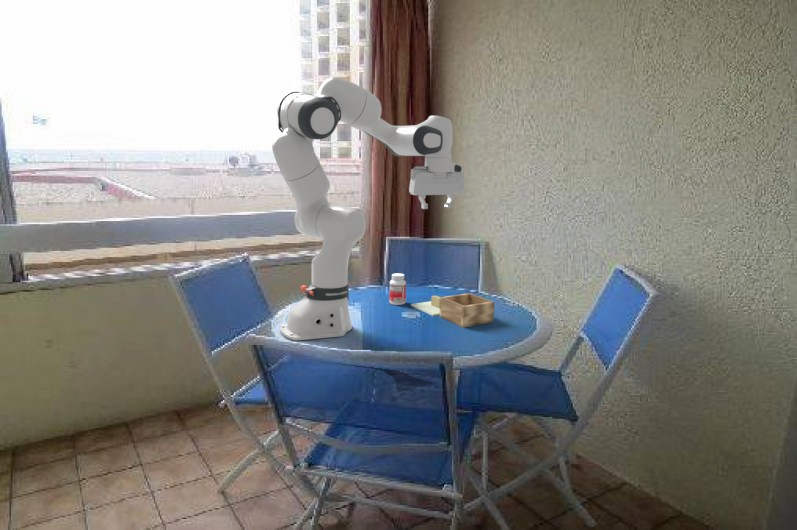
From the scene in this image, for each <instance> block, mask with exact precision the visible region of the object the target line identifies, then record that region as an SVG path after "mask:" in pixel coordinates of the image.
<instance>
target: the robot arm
mask: <svg viewBox="0 0 797 530" xmlns="http://www.w3.org/2000/svg"><path fill="white" fill-rule="evenodd" d="M276 111H277V117H278V121H277V122H278V123H277V125H278V126H277V127H278V129H279V131H280V132H281V133H280V134H279V135H278V136H276V138H274V140H273V141H272V146H271V147H272V149H271V150H272V153H273V157H274V159H275V162H276V165H277V167H278V169H279V171H280V173H281V176H282V177H283V179H284V181H285V182H286V185H287V187H288V188H289V190H290V192H291V194H292V196H293V198H294V200H295V205H296V208H297V210H296V211H295V214H294V221H293V222H294V226H295V228H296V230H297V231H298V233H300V234H302V235H303V236H307V237H308V238H311V239H315V240H316V239H317V240H322V246H321V250H320V252H319V253H318V254H316V255H315V256H314V257H313V258H312V260H311V284H309V286H307V285H305V284H303V285H301V286H300V287H299V288H300V291H301V292H303V293H305V297H304V298H303V299H301V300H300V301H299V302H298V303H296V304H295V305H294V306H293V307H291V309H290V310H289V311H288V313H287V319H286V323H283V324H280V326H279V332H280V333H281V334H282V336H283V337H285V338H287V339H289V340H292V341H305V340H317V339H325V338H326V339H327V338H335V337H337V338H338V337H344V336H345V335H346V334H347V332H349V331H351V330H352V329H353V325H352V320H351V317H350V312H349V302H348V301H349V298H350V297H349V296H350V288H349V287H350V286H349V283H348V273H349V272H348V271H349V270H348V269H349V258H350V255H351V252H352V250H353V249H354V248H353V247H354V246H355V245H356V244H357V242H359V241H360V240H361V239H362V238H363V237H364V235H365V234H366V233H365V232H366V231H367V222H366V219H365V216H364V214H363V213H362V212H361V211H359V210H357V209H355V208H352V207H350V206H346V205H345V206H344V205H336V204H331V202H329V200H328V198H327V196H326V195H327V194H328V192H329V189H330V188H331V187H330V185H331V183H330V179H328V176H327V174H326V172H325V170H324V168H323V166H322V163H321V162H320V159H319V158H318V156H317V154H316V152H315V149H314V146H313V143H314V142H313V140H316V141H317V140H323V139H327V138H329V137H330V136H331V135H332V134H333V133H334V132H335V131H336V129H337V127H338V124H339V123H340V122H342V123H343V124H345V125H347V126H349V127H352V128H354V129H356V130H359V131H362V132H364V133H365V134H367V135H368V136H370V137H372V138H373V139H375V140H376V141H378V142H380V143H381V144H382V145H384V147H386V148H387V150H388V151H389V153H390V154H391V155H393V156H394V157H399V158H400V157H408V156H409V157H424V166H414V167H413V168H412V169H411V171H410V181H409V188H408V191H409V193H410V195H412V196H418V200H419V202H420V205H421V209H423V210H428V209H429V204H428V203H426V200H425V199H426V197H427V196H442V195H443V196H445V195H446V196H447V197H446V198H447V200H446V202H444V209H451V208H452V202H453V201H454V199H455V195H463V193H464V192H465V190H464V189H465V177H464V174H463V173H464V171H465V170H464V166H462V165H461V164H458V163H457V162H455V161H452V158H453V157H452V146H453V139H454V138H453V135H454V134H453V125H452V121H451V119H449V118H448V117H447V116H443V115H437V114H436V115H435V114H433V115H429V116H428V118H427V119H426V120H424V121H423V122H420V123H418V124H415V125H393V124H390V123H389V122H387V121H386V120H384V119H383V118H381V116H382V103H381V101H380V100H379V98H378V97H377V96H376V95H375V94H373V93H372V92H371V91H369V90H367V89H366V88H364V87H362V86H360V85H358V84H356V83H354V82H351V81H349V80H347V79H344V78H340V77H337V76H331V77H329V78H327V79H325V80H324V81H323V82H322V84H321V85H320V87H319V89H318V91H317V92H316V93H315V94H310V93H307V92H300V91H291V92H288V93H286V94H284V95H283V96H282V97H281V98H280V99H279V101H278V103H277V109H276Z"/></svg>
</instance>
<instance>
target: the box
mask: <svg viewBox="0 0 797 530" xmlns="http://www.w3.org/2000/svg"><path fill="white" fill-rule="evenodd" d="M439 297H440V315H439V317H440V318H441V319H443V320H446V321H448V322H449V323H452V324H454V325H456V326H459V327H460V328H463V329H464V328H468V327H474V326H480V325H484V324H491V323H494V315H495V301H493V300H489V299H487V298H484V297H481V296H479V295H478V294H477V295H476V294H473V293H471V292H469V293H462V294H454V295H447V296H439Z"/></svg>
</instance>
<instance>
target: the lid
mask: <svg viewBox="0 0 797 530" xmlns="http://www.w3.org/2000/svg"><path fill="white" fill-rule="evenodd" d="M440 297H441V296H438V295H432V296H431V300H429V301H424V302H418V303H417V302H416V303H411V304H410V306H411V307H412V308H415V309H416V310H419V311H421V312H423V313H425V314H426V315H427V314H428V315H430V316H432V317H435V316H440Z"/></svg>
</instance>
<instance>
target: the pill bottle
mask: <svg viewBox="0 0 797 530" xmlns="http://www.w3.org/2000/svg"><path fill="white" fill-rule="evenodd" d="M406 294H407V281H406V280H405V274H404V273H400V272H399V273H398V272H396V273H392V274H391V279H390V281H389V295H388V296H389V297H388V299H389V300H388V301H389V303H390V305H393V306H402V305H405V304H406V303H407V302H406V300H407V295H406Z"/></svg>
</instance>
